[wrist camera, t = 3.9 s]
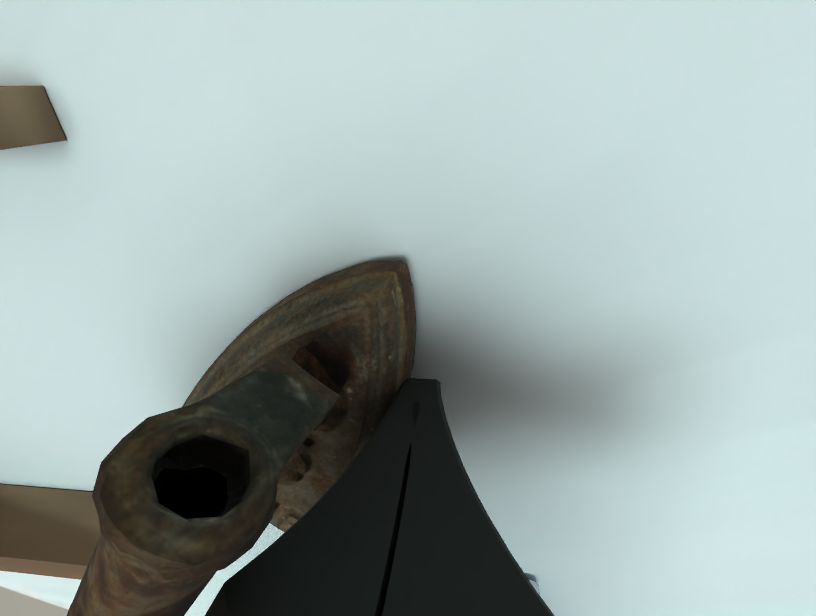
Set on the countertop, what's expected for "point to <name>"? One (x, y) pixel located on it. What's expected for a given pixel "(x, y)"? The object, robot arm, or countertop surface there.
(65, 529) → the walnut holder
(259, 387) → the clothes iron
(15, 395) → the countertop surface
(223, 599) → the robot arm
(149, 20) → the countertop surface
